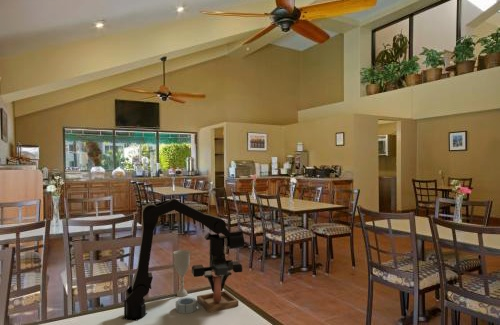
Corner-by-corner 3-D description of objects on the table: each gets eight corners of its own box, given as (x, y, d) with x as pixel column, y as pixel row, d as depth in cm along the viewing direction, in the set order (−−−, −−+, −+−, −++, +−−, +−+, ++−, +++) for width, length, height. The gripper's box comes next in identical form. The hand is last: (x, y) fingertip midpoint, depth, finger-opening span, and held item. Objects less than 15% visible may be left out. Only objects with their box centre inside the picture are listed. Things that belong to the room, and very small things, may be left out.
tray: (208, 314, 121) (208, 307, 121) (197, 302, 132) (197, 295, 132) (238, 307, 127) (238, 300, 127) (225, 296, 138) (225, 290, 138)
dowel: (212, 301, 128) (212, 277, 128) (215, 298, 131) (215, 274, 131) (219, 302, 127) (219, 278, 128) (222, 299, 130) (222, 275, 130)
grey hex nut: (172, 313, 122) (172, 304, 122) (182, 305, 129) (182, 296, 129) (190, 316, 120) (190, 306, 120) (199, 307, 127) (199, 298, 127)
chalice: (193, 293, 141) (193, 250, 141) (188, 299, 134) (188, 254, 134) (176, 292, 142) (176, 249, 142) (170, 299, 135) (170, 254, 135)
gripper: (196, 257, 119) (196, 302, 119) (246, 253, 125) (246, 295, 125) (191, 250, 130) (191, 291, 129) (238, 246, 135) (238, 285, 135)
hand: (217, 291), depth 129 cm, fingers closed on dowel, 3 cm apart
